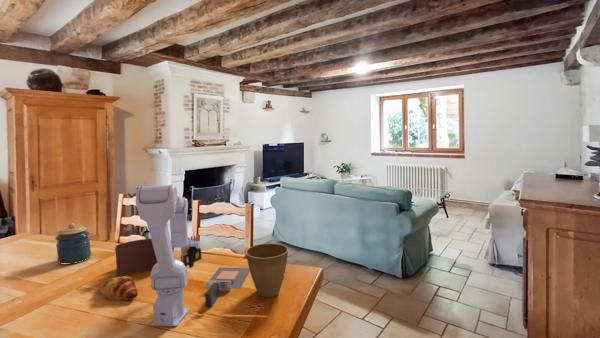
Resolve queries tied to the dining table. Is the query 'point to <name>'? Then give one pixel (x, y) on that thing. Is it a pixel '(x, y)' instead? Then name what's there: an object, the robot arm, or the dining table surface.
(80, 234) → the canister
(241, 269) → the mat
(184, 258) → the ammunition clip
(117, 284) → the croissant
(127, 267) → the letter holder
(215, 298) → the turner
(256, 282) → the plant pot
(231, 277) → the tile
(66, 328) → the dining table surface
